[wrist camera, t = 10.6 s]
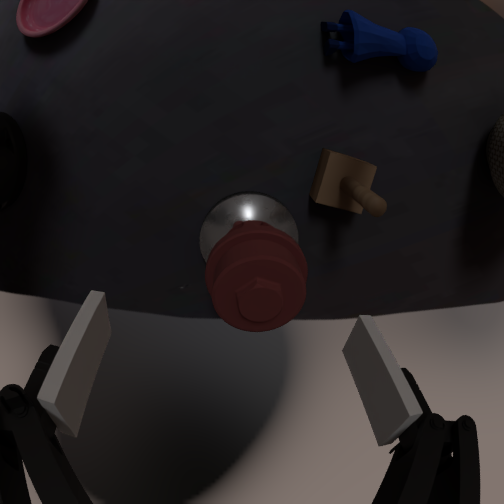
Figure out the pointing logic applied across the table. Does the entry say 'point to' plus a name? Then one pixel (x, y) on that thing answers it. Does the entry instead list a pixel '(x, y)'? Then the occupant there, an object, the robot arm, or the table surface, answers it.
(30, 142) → the table surface
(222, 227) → the grey round disc
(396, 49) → the toy
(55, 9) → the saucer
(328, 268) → the table surface
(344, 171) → the brown wooden peg block
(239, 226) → the mechanical component
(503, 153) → the planter
